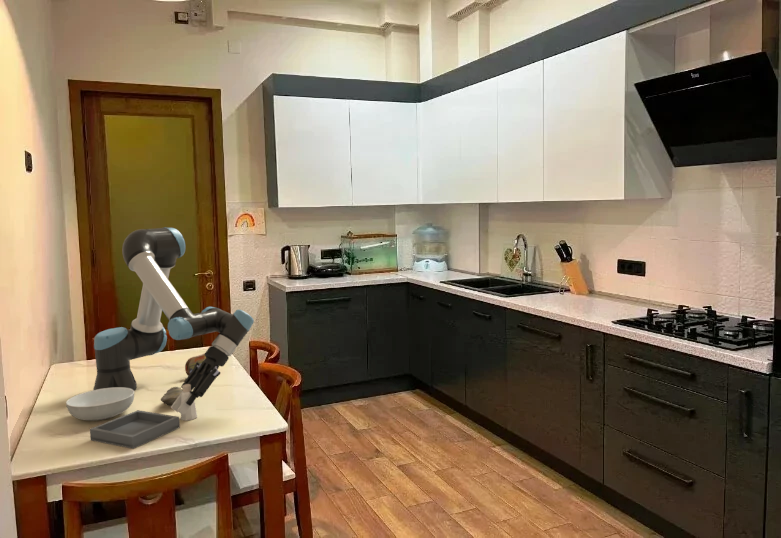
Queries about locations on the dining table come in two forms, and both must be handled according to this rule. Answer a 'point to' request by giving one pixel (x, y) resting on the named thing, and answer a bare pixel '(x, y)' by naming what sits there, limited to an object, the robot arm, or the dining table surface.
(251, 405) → the dining table surface
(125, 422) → the parts tray
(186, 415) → the salt shaker
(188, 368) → the tin
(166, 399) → the fossilized seashell
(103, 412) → the serving bowl
